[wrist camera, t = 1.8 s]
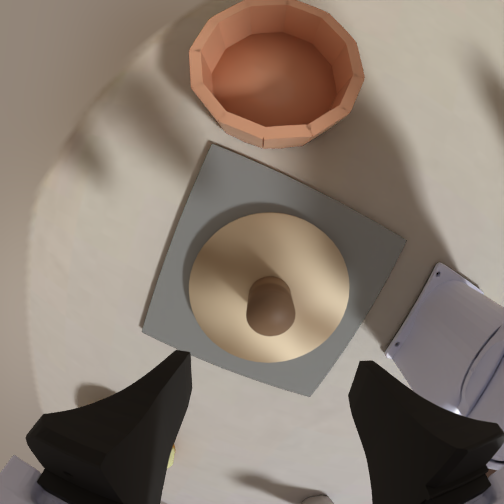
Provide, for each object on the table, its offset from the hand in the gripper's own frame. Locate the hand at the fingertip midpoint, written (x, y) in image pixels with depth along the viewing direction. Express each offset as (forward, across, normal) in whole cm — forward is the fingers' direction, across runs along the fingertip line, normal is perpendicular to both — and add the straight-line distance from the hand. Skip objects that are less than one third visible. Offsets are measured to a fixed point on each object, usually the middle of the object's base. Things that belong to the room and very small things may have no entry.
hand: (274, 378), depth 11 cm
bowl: (+10, +1, -15) cm, 18 cm away
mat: (+10, 0, 0) cm, 10 cm away
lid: (+10, 0, 0) cm, 10 cm away
